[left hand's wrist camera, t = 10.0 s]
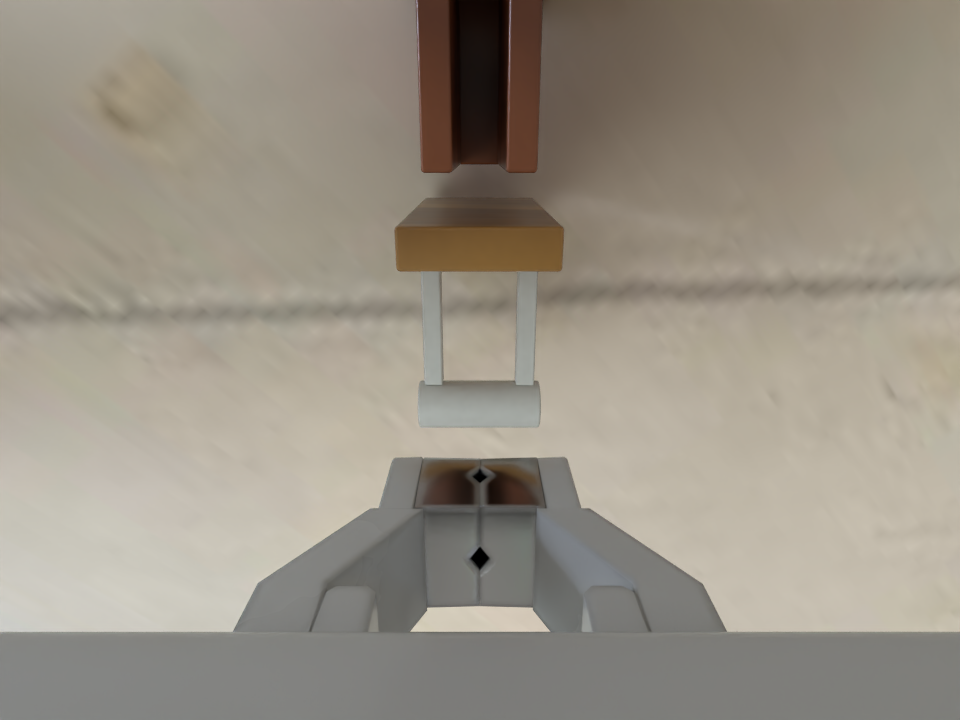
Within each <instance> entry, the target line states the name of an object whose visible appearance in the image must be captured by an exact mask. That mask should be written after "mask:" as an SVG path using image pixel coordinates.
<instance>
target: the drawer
mask: <svg viewBox="0 0 960 720" xmlns="http://www.w3.org/2000/svg"><path fill="white" fill-rule="evenodd" d="M542 10H543V0H416V22H417V53H418V84H419V115H420V146H421V170H422V172H424V173H450V172H452V171H453V170H454V169H455V168H456V167H458V166H459V165H460V164H499V165H500V166H501V167H502V168H504V169H505V170H506V171H507V172H509V173H534V172H536V171H537V163H538V133H539V102H540V71H541V41H542ZM563 241H564V229H563V227H562V226H561V225H560V224H559V223H558V222H557V221H556V220H555V219H554V218H552V217H551V216H550V215H549V214H548V213H547V212H546V211H545V210H544V209H543V208H542V207H541V206H540V205H539V204H538V203H537V202H536V201H535V200H534V199H532V198H426V199H425V200H424V201H423V202H422V203H421V204H420V205H419V206H418V207H416V208H415V209H414V210H413V211H412V212H411V213H410V214H409V215H408V216H407V217H406V218H405V219H404V220H403V221H402V222H401V223H400V224H399V225H398V226H397V227H395V250H396V268H397V270H398V271H420V272H421V291H422V320H423V349H424V378H425V381H420V384H419V390H418V420H419V426H420V427H539V424H540V413H541V398H540V386H539V382H538V381H534V366H535V337H536V309H537V280H538V272H558V271H561V269H562V261H563ZM441 272H517V304H516V348H515V381H443V379H444V371H443V326H442V282H441Z"/></svg>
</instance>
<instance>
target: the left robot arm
mask: <svg viewBox="0 0 960 720" xmlns="http://www.w3.org/2000/svg"><path fill="white" fill-rule="evenodd" d="M461 606H497V607H533V610H534V612H535V613H536V614H537V615H538V617H539V618H540V619H541V620H542V622H543V623H544V624H545V625H546V627H547V628H548V629H549V630H550V631H551V632H410V631H411V629H412V628H413V627H414V626H415V625H416V623H417V622H418V621H419V620H420V618H421V617H422V616H423V615H424V614H425V612H426V611H427V607H461ZM0 720H960V632H727V631H726V629H725V627H724V625H723V623H722V621H721V619H720V617H719V615H718V613H717V611H716V609H715V607H714V605H713V603H712V601H711V599H710V597H709V595H708V593H707V591H706V589H705V588H704V586H703V584H702V583H700V582H699V581H697V580H696V579H694V578H693V577H691V576H690V575H688V574H687V573H685V572H684V571H682V570H681V569H679V568H678V567H676V566H675V565H673V564H672V563H670V562H669V561H667V560H666V559H664V558H663V557H661V556H660V555H658V554H657V553H655V552H654V551H652V550H651V549H650V548H648V547H647V546H645V545H644V544H642V543H641V542H639V541H638V540H636V539H635V538H633V537H632V536H630V535H629V534H627V533H626V532H624V531H623V530H621V529H620V528H618V527H617V526H615V525H614V524H612V523H611V522H609V521H608V520H606V519H605V518H603V517H602V516H600V515H599V514H597V513H596V512H594V511H593V510H591V509H586V508H581V505H580V502H579V498H578V495H577V491H576V488H575V485H574V481H573V478H572V474H571V471H570V467H569V464H568V460H567V459H566V458H565V457H550V458H499V459H471V458H424V459H423V458H422V457H401V458H394V459H393V460H392V463H391V467H390V470H389V474H388V477H387V481H386V484H385V488H384V491H383V495H382V498H381V502H380V505H379V508H374V509H369V510H367V511H366V512H364V513H363V514H361V515H360V516H358V517H357V518H355V519H354V520H352V521H351V522H349V523H348V524H346V525H345V526H343V527H342V528H340V529H339V530H337V531H336V532H334V533H333V534H331V535H330V536H328V537H327V538H325V539H324V540H322V541H321V542H319V543H318V544H316V545H315V546H313V547H312V548H310V549H309V550H307V551H306V552H304V553H303V554H301V555H300V556H298V557H297V558H295V559H294V560H292V561H291V562H289V563H288V564H286V565H285V566H283V567H282V568H280V569H279V570H277V571H276V572H274V573H273V574H271V575H270V576H268V577H267V578H265V579H264V580H262V581H261V582H259V583H258V584H257V586H256V588H255V590H254V592H253V594H252V596H251V598H250V600H249V602H248V604H247V605H246V607H245V609H244V611H243V613H242V615H241V617H240V619H239V621H238V623H237V625H236V627H235V629H234V631H233V632H0Z"/></svg>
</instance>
